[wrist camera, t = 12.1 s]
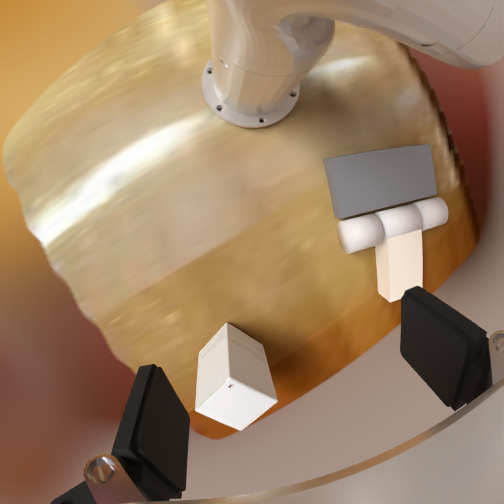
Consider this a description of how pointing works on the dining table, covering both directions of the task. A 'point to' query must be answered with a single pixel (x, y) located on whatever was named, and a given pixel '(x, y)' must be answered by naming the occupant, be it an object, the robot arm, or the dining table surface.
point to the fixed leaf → (381, 191)
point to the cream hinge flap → (399, 251)
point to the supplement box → (233, 379)
